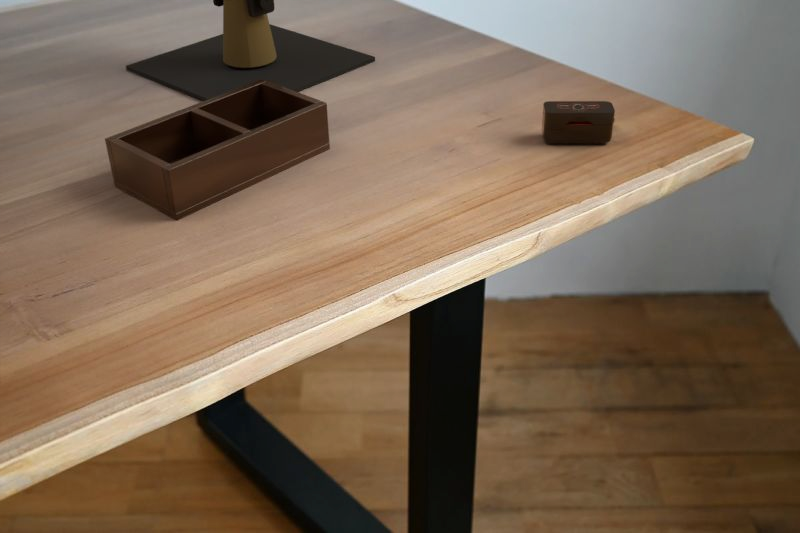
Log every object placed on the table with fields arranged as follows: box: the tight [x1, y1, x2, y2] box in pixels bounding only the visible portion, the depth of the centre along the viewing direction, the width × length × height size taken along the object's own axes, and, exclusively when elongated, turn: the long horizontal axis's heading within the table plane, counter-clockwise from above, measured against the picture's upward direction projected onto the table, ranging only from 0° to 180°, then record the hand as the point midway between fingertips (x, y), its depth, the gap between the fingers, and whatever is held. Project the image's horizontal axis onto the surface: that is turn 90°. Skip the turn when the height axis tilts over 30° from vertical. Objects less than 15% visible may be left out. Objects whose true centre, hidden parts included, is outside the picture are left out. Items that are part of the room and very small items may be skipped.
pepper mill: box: [222, 0, 277, 68], centre depth 100 cm, size 6×6×11 cm
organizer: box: [104, 79, 331, 221], centre depth 81 cm, size 9×17×5 cm, turn 138°
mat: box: [125, 23, 376, 102], centre depth 103 cm, size 20×20×1 cm
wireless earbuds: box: [541, 100, 616, 144], centre depth 85 cm, size 5×7×3 cm, turn 87°
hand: (243, 7), depth 100 cm, fingers closed on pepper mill, 5 cm apart
